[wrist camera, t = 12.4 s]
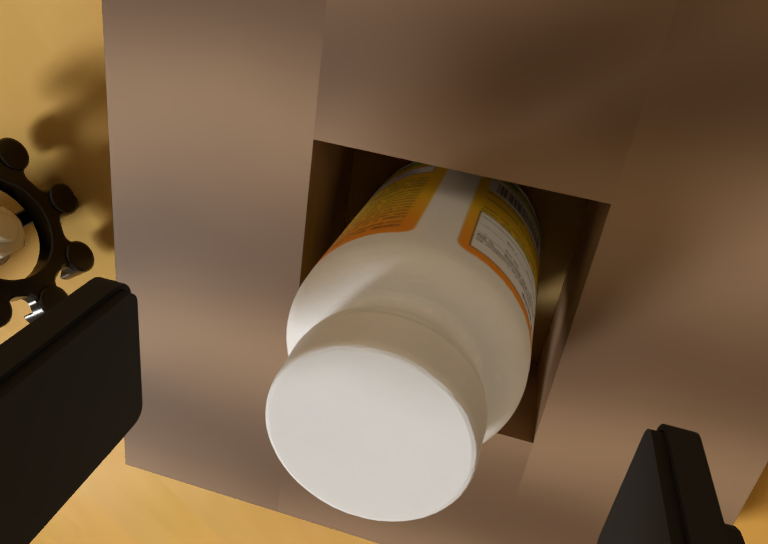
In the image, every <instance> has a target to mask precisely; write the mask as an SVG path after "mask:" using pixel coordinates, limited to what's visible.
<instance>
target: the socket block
mask: <svg viewBox="0 0 768 544" xmlns="http://www.w3.org/2000/svg"><path fill="white" fill-rule="evenodd" d="M102 14H103V34H104V53H105V72H106V92H107V111H108V130H109V150H110V169H111V188H112V208H113V227H114V246H115V266H116V281H117V282H120V283H124V284H126V285H128V286H129V288H130V290H131V293H132V294H134V295H136V297H137V301H138V319H139V340H140V360H141V381H142V401H143V405H142V411H141V414H140V417H139V419H138V421H137V422H136V423H135V425H134V426H133V427H132V428H131V429H130V430H129V432H128V433H127V434H126V435H125V436H124V440H125V459H126V464H127V465H130V466H133V467H136V468H140V469H143V470H146V471H149V472H152V473H156V474H159V475H162V476H165V477H168V478H172V479H175V480H178V481H181V482H184V483H188V484H191V485H194V486H197V487H200V488H204V489H207V490H210V491H213V492H216V493H219V494H223V495H226V496H229V497H232V498H235V499H239V500H242V501H245V502H248V503H251V504H255V505H258V506H261V507H264V508H267V509H271V510H274V511H277V512H280V513H283V514H287V515H290V516H293V517H296V518H299V519H303V520H306V521H309V522H312V523H315V524H319V525H322V526H325V527H328V528H331V529H335V530H338V531H341V532H344V533H347V534H351V535H354V536H357V537H360V538H363V539H366V540H370V541H373V542H376V543H379V544H597V541H598V538H599V535H600V533H601V530H602V528H603V526H604V524H605V521H606V519H607V517H608V514H609V512H610V510H611V507H612V505H613V503H614V501H615V498H616V496H617V494H618V491H619V489H620V487H621V484H622V482H623V480H624V478H625V475H626V473H627V471H628V468H629V466H630V464H631V461H632V459H633V457H634V455H635V452H636V450H637V448H638V445H639V443H640V441H641V438H642V436H643V434H644V432H645V431H646V430H647V429H652V430H655V431H656V430H657V428H658V427H659V426H660V425H661V424H667V425H671V426H675V427H679V428H682V429H686V430H690V431H694V432H697V433H698V434H699V435H700V437H701V440H702V444H703V447H704V451H705V454H706V458H707V462H708V465H709V469H710V473H711V476H712V480H713V483H714V487H715V491H716V494H717V498H718V502H719V505H720V509H721V512H722V516H723V520H724V523H725V524H729V525H732V526H733V524H734V522H735V520H736V519H737V517H738V515H739V513H740V511H741V510H742V508H743V506H744V504H745V502H746V500H747V499H748V497H749V495H750V493H751V491H752V490H753V488H754V486H755V484H756V482H757V481H758V479H759V477H760V475H761V473H762V472H763V470H764V468H765V466H766V464H767V462H768V0H102ZM354 148H356V149H360V150H365V151H369V152H374V153H379V154H383V155H388V156H392V157H397V158H402V159H406V160H411V161H415V162H420V163H425V164H429V165H434V166H438V167H443V168H448V169H452V170H457V171H461V172H466V173H470V174H475V175H480V176H484V177H489V178H493V179H498V180H503V181H507V182H512V183H516V184H521V185H526V186H530V187H535V188H539V189H544V190H549V191H553V192H558V193H562V194H567V195H572V196H576V197H581V198H585V199H589V202H588V205H587V208H586V212H585V215H584V218H583V221H582V225H581V228H580V231H579V234H578V238H577V241H576V244H575V247H574V251H573V254H572V257H571V260H570V264H569V267H568V270H567V273H566V277H565V280H564V283H563V286H562V290H561V293H560V296H559V299H558V302H557V306H556V309H555V312H554V315H553V319H552V322H551V325H550V328H549V332H548V335H547V338H546V341H545V345H544V348H543V351H542V354H541V358H540V361H539V363H535V362H532V361H530V370H529V373H528V378H527V383H526V387H525V390H524V393H523V396H522V398H521V400H520V402H519V405H518V406H517V408H516V410H515V412H514V413H513V415H512V416H511V418H510V419H509V420H508V422H507V423H506V424H505V425H504V426H503V427H502V428H501V429H500V430H499V431H498V432H497V433H496V434H495V435H493V436H492V437H491V438H490V439H488V440H487V441H486V442H484V443H483V444H482V448H481V453H480V457H479V461H478V465H477V468H476V471H475V474H474V476H473V478H472V480H471V482H470V484H469V485H468V487H467V488H466V490H465V491H464V492H463V493H462V494H461V496H460V497H459V498H458V499H457V500H456V501H454V502H453V503H452V504H450V505H449V506H447V507H446V508H444V509H442V510H441V511H439V512H437V513H435V514H432V515H429V516H427V517H424V518H419V519H415V520H408V521H393V522H392V521H376V520H371V519H366V518H362V517H359V516H355V515H352V514H348V513H346V512H343V511H341V510H339V509H336V508H334V507H332V506H330V505H328V504H327V503H325V502H323V501H321V500H320V499H318V498H317V497H316V496H314V495H313V494H311V493H310V492H309V491H307V490H306V489H305V488H304V487H303V486H301V485H300V484H299V483H298V482H297V481H296V480H295V479H294V478H293V477H292V476H291V475H290V473H289V472H288V471H287V470H286V468H285V467H284V466H283V464H282V463H281V461H280V460H279V458H278V456H277V455H276V453H275V450H274V448H273V446H272V444H271V442H270V439H269V435H268V432H267V428H266V416H265V412H266V401H267V397H268V393H269V390H270V387H271V385H272V383H273V381H274V379H275V377H276V375H277V373H278V372H279V370H280V369H281V367H282V366H283V364H284V363H285V361H286V360H287V358H288V350H287V341H286V334H287V322H288V317H289V312H290V309H291V306H292V303H293V301H294V298H295V296H296V294H297V292H298V290H299V288H300V286H301V285H302V283H303V282H304V280H305V279H306V277H307V276H308V274H309V273H310V272H311V270H312V269H313V268H314V266H315V265H316V264H317V263H318V261H319V260H320V259H321V258H322V257H323V255H324V254H325V253H326V252H327V251H328V250H329V248H330V247H331V246H332V245H333V244H334V242H335V241H336V240H337V239H338V237H339V236H340V235H341V234H342V233H343V231H344V227H345V219H346V211H347V203H348V195H349V187H350V179H351V171H352V163H353V155H354Z"/></svg>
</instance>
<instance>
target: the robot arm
mask: <svg viewBox="0 0 768 544" xmlns="http://www.w3.org/2000/svg"><path fill="white" fill-rule="evenodd" d="M142 405H143V401H142V381H141V360H140V340H139V319H138V301H137V297H136V295H134V294H132V293H131V290H130V288H129V286H128V285H126V284H124V283H120V282H117V281H113V280H109V279H105V278H101V277H95V278H93V279H91V280H90V281H88V282H87V283H86V284H84V285H83V286H81V287H80V288H79V289H77V290H76V291H74V292H73V293H72V294H70V295H69V296H67V297H66V298H65V299H63V300H62V301H61V302H59V303H58V304H56V305H55V306H54V307H52V308H51V309H49V310H48V311H47V312H45V313H44V314H42V315H41V316H40V317H38V318H37V319H35V320H34V321H33V322H31V323H30V324H29V325H27V326H26V327H24V328H23V329H22V330H20V331H19V332H17V333H16V334H15V335H13V336H12V337H10V338H9V339H8V340H6V341H5V342H3V343H2V344H1V345H0V544H29V543H30V542H31V541H32V540H33V539H34V538H35V537H36V536H37V534H38V533H39V532H40V531H41V530H42V529H43V528H44V526H45V525H46V524H47V523H48V522H49V521H50V520H51V519H52V517H53V516H54V515H55V514H56V513H57V512H58V511H59V510H60V508H61V507H62V506H63V505H64V504H65V503H66V502H67V500H68V499H69V498H70V497H71V496H72V495H73V494H74V493H75V491H76V490H77V489H78V488H79V487H80V486H81V485H82V484H83V482H84V481H85V480H86V479H87V478H88V477H89V476H90V475H91V473H92V472H93V471H94V470H95V469H96V468H97V467H98V465H99V464H100V463H101V462H102V461H103V460H104V459H105V458H106V456H107V455H108V454H109V453H110V452H111V451H112V450H113V449H114V447H115V446H116V445H117V444H118V443H119V442H120V441H121V440H122V438H123V437H124V436H125V435H126V434H127V433H128V432H129V430H130V429H131V428H132V427H133V426H134V425H135V423H136V422H137V421H138V419H139V417H140V414H141V411H142ZM597 544H745V542H744V539H743V537H742V534H741V532H740V531H739V530H738V529H737V528H736V527H735V526H732V525H729V524H725V523H724V520H723V516H722V512H721V509H720V505H719V502H718V498H717V494H716V491H715V487H714V483H713V480H712V476H711V473H710V469H709V465H708V462H707V458H706V454H705V451H704V447H703V444H702V440H701V437H700V435H699V434H698V433H697V432H694V431H690V430H686V429H682V428H679V427H675V426H671V425H667V424H661V425H660V426H659V427H658V428H657V430H656V431H655V430H652V429H647V430H646V431H645V432H644V434H643V436H642V438H641V441H640V443H639V445H638V448H637V450H636V452H635V455H634V457H633V459H632V461H631V464H630V466H629V468H628V471H627V473H626V475H625V478H624V480H623V482H622V484H621V487H620V489H619V491H618V494H617V496H616V498H615V501H614V503H613V505H612V507H611V510H610V512H609V514H608V517H607V519H606V521H605V524H604V526H603V528H602V530H601V533H600V535H599V538H598V541H597Z"/></svg>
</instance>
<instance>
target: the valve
mask: <svg viewBox="0 0 768 544" xmlns="http://www.w3.org/2000/svg"><path fill="white" fill-rule="evenodd" d="M28 164H29V155H28V152H27V150H26V149H25V147H24V146H23V145H22V144H21V143H20V142H18V141H17V140H15V139H12V138H2V139H0V190H1V191H3V192H5V193H6V194H8V195H9V196H11V197H12V198H13V199H15V200H16V201H17V202H18V203H19V204H20V205H21V206H22V207H23V208H24V209H23V210H21V211H19V212H17V213H15V214H13V213H12V212H11V211H9V210H8V209H6V208H4V207H3V206H1V205H0V266H1V265H3V264H4V263H5V262H6V261H7V260H8V259H9V257H10V256H11V253H13V252H14V251H16V250H18V249H20V248H22V247H24V231H23V228H24V227H26V226H28V225H30V224H32V223H34V226H35V228H36V230H37V233H38V237H39V242H40V253H39V257H38V261H37V264H36V266H35V267H34V269H33V271H32V272H31V273H30V274H29V276H27V277H26V278H25V279H19V280H5V279H0V328H1V327H3V326H5V325H6V324H7V323H8V322H9V321H10V319H11V317H12V307H11V304H10V302H12V301H17V300H20V299H22V300H25V301H26V302H27V303H28V304H29V305H30V307H31V310H32V313H30V314H28V315H26V316H25V317H24V318H25V319H26V320H27V321H28V322H29V323H31V322H33V321H34V320H35V319H37V318H38V317H40V316H41V315H42V314H44V313H45V312H47V311H48V310H49V309H51V308H52V307H54V306H55V305H56V304H58V303H59V302H61V301H62V300H63V299H65V298H66V297H67V296H68V295H67V293H66V292H65V291H64V290H63V289H61V288H60V287H57V286H56V282H55V279H56V277H57V275H58V273H59V271H60V270H62V272H61V279H67V280H68V279H71V278H73V277H76V276H78V275H80V274H83V273H85V272H87V271H89V270H90V269H91V268H92V267H93V265H94V256H93V253H92V251H91V249H90V248H89V247H88V246H87V245H86V244H84V243H82V242H80V241H73V242H71V241H69V240H68V239H67V238H66V237H65V236H64V234H63V230H62V227H61V223H60V220H61V219H62V218H64V217H66V216H68V215H70V214H72V213H74V212H75V211H76V209H77V206H78V201H77V198H76V197H75V195H74V194H73V192H72V191H71V189H70V188H69V187H68V186H66V185H64V184H54V185H52V186H50V187H48V188H46V189H44V190H40V189H38V188H37V187H36V186H35V185H34V184H32V183H31V182H30V181H29V180H28V179H27V178H26V176H25V173H24V169H25V168H26V167H27V166H28Z"/></svg>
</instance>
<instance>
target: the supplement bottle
mask: <svg viewBox="0 0 768 544" xmlns="http://www.w3.org/2000/svg"><path fill="white" fill-rule="evenodd" d="M540 260H541V235H540V228H539V223H538V219H537V216H536V213H535V211H534V208H533V206H532V204H531V202H530V201H529V199H528V197H527V196H526V194H525V193H524V191H523V190H522V189H521V188H520V187H519V186H518V184H516V183H512V182H507V181H503V180H498V179H493V178H489V177H484V176H480V175H475V174H470V173H466V172H461V171H457V170H452V169H448V168H443V167H438V166H434V165H429V164H425V163H420V162H413V163H410V164H408V165H406V166H404V167H403V168H401V169H399V170H398V171H397V172H395V173H394V174H393V175H392V176H390V177H389V178H388V179H387V180H386V181H385V182H384V183H383V184H382V185H381V186H380V187H379V188H378V190H377V191H376V192H375V193H374V194H373V196H372V197H371V198H370V200H369V201H368V202H367V203H366V205H365V206H364V207H363V208H362V210H361V211H360V212H359V213H358V214H357V216H356V217H355V218H354V219H353V220H352V222H351V223H350V224H349V225H348V226H347V228H346V229H345V230H344V231H343V233H342V234H341V235H340V236H339V237H338V239H337V240H336V241H335V242H334V244H333V245H332V246H331V247H330V248H329V250H328V251H327V252H326V253H325V254H324V255H323V257H322V258H321V259H320V260H319V261H318V263H317V264H316V265H315V266H314V268H313V269H312V270H311V272H310V273H309V274H308V276H307V277H306V279H305V280H304V282H303V283H302V285H301V286H300V288H299V290H298V292H297V294H296V296H295V298H294V301H293V303H292V306H291V309H290V312H289V317H288V322H287V334H286V341H287V350H288V358H287V360H286V361H285V363H284V364H283V366H282V367H281V369H280V370H279V372H278V373H277V375H276V377H275V379H274V381H273V383H272V385H271V387H270V390H269V393H268V397H267V401H266V412H265V416H266V428H267V432H268V435H269V439H270V442H271V444H272V446H273V448H274V450H275V453H276V455H277V456H278V458H279V460H280V461H281V463H282V464H283V466H284V467H285V468H286V470H287V471H288V472H289V473H290V475H291V476H292V477H293V478H294V479H295V480H296V481H297V482H298V483H299V484H300V485H301V486H303V487H304V488H305V489H306V490H307V491H309V492H310V493H311V494H313V495H314V496H316V497H317V498H318V499H320V500H321V501H323V502H325V503H327V504H328V505H330V506H332V507H334V508H336V509H339V510H341V511H343V512H346V513H348V514H352V515H355V516H359V517H362V518H366V519H371V520H376V521H392V522H393V521H408V520H415V519H419V518H424V517H427V516H429V515H432V514H435V513H437V512H439V511H441V510H442V509H444V508H446V507H447V506H449V505H450V504H452V503H453V502H454V501H456V500H457V499H458V498H459V497H460V496H461V494H462V493H463V492H464V491H465V490H466V488H467V487H468V485H469V484H470V482H471V480H472V478H473V476H474V474H475V471H476V468H477V465H478V461H479V457H480V453H481V448H482V444H483V443H484V442H486V441H487V440H488V439H490V438H491V437H492V436H493V435H495V434H496V433H497V432H498V431H499V430H500V429H501V428H502V427H503V426H504V425H505V424H506V423H507V422H508V420H509V419H510V418H511V416H512V415H513V413H514V412H515V410H516V408H517V406H518V405H519V402H520V400H521V398H522V396H523V393H524V390H525V387H526V383H527V378H528V373H529V370H530V361H531V351H532V339H533V329H534V319H535V309H536V299H537V290H538V280H539V269H540Z"/></svg>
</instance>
